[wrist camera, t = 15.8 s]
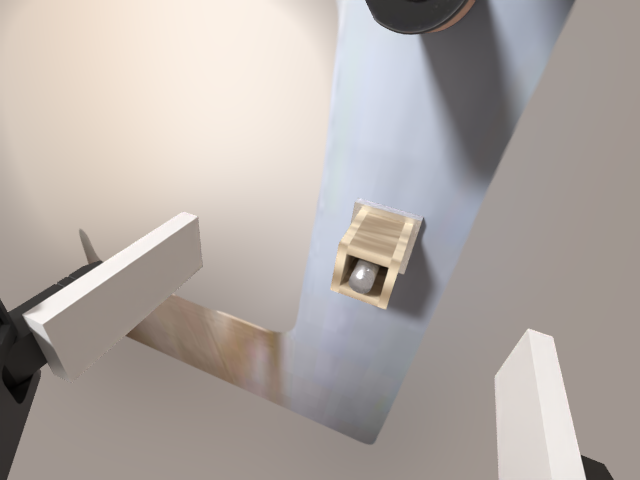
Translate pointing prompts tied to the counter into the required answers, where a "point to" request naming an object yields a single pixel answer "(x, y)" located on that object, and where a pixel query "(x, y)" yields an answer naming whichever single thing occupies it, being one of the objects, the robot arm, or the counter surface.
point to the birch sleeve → (371, 255)
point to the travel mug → (418, 14)
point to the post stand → (368, 270)
